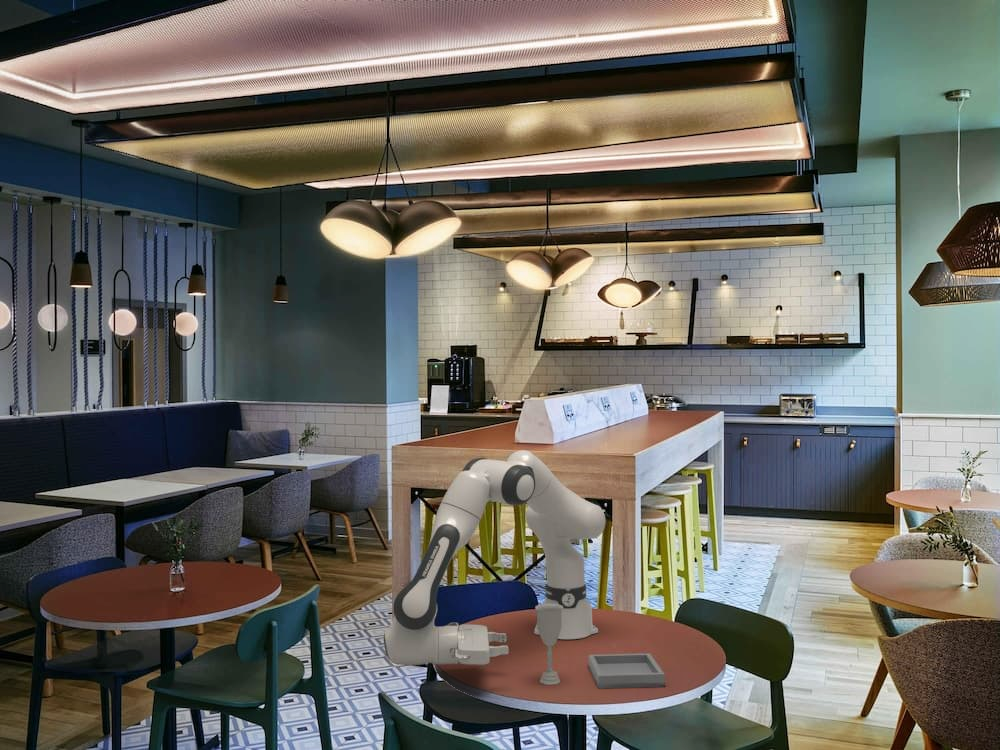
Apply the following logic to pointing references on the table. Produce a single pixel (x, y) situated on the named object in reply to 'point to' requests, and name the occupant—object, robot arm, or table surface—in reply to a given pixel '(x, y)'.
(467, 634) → the robot arm
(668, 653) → the table surface
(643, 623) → the table surface
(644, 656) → the tray
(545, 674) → the chalice
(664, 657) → the table surface
